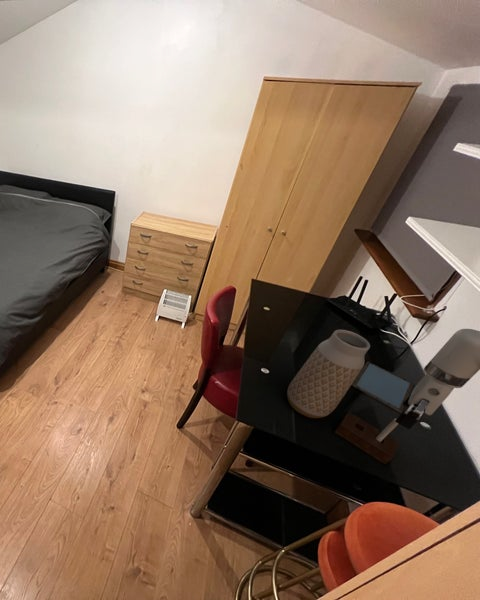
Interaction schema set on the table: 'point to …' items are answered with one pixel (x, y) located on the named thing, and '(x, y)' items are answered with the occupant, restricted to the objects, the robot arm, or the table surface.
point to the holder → (367, 438)
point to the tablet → (383, 386)
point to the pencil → (387, 430)
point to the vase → (328, 374)
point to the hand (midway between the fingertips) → (405, 415)
